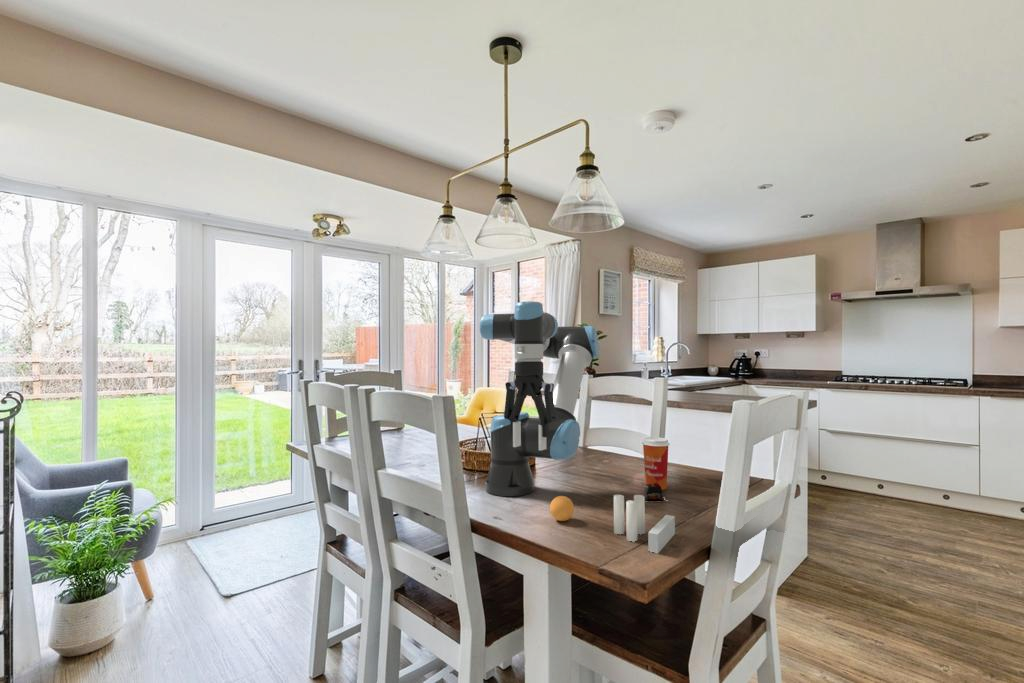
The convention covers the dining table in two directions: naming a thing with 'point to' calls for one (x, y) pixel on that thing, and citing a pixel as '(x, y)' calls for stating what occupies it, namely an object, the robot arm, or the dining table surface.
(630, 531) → the pin
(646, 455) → the coffee cup
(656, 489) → the dark piece
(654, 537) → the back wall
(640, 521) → the pin
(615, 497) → the front pin
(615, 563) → the dining table surface
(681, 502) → the dining table surface
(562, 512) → the ball
